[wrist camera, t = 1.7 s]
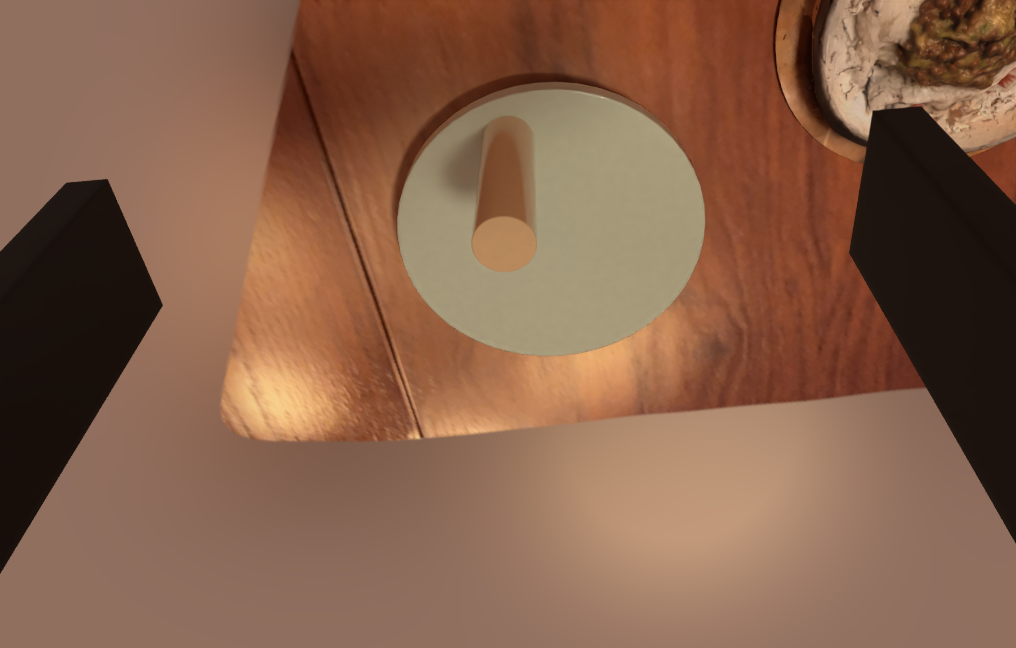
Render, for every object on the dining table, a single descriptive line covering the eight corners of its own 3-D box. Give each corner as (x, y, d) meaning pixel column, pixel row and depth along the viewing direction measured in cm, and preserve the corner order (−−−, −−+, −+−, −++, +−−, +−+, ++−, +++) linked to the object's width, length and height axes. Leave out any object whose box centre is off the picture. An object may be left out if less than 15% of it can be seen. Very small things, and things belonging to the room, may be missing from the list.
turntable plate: (361, 291, 44) (324, 423, 36) (463, 27, 35) (445, 122, 27) (614, 378, 47) (632, 516, 39) (762, 155, 39) (824, 273, 31)
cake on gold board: (982, 203, 42) (1021, 247, 39) (716, 112, 39) (734, 150, 36) (1218, -102, 34) (1294, -81, 30) (899, -244, 31) (943, -238, 28)
